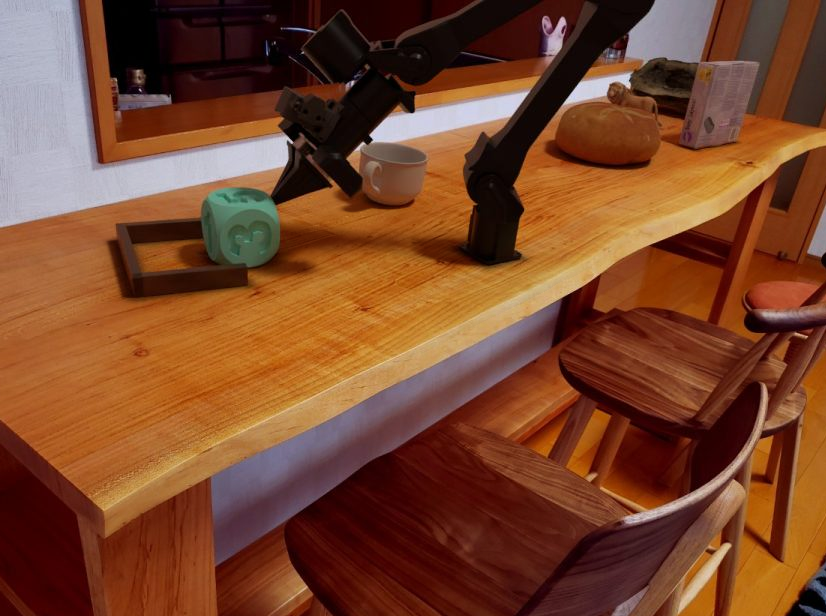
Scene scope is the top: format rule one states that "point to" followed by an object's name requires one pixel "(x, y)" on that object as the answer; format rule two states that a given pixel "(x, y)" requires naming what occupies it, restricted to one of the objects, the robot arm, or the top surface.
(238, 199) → the decorative dice
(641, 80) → the hollow geode rock
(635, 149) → the bread
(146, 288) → the walnut frame
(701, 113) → the cake pan box
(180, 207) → the top surface
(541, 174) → the top surface
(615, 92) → the lion figurine
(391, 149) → the teacup
